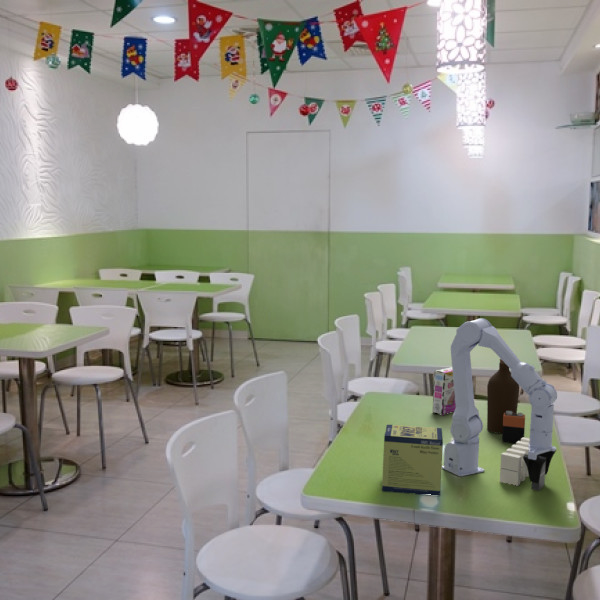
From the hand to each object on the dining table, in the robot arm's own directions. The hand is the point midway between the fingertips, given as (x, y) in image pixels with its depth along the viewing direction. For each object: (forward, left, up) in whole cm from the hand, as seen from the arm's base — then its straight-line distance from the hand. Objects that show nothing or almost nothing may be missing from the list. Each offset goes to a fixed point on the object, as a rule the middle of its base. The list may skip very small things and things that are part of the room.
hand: (538, 477), depth 187 cm
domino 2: (-1, +8, -3) cm, 8 cm away
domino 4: (+7, +11, -3) cm, 13 cm away
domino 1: (-5, +6, -3) cm, 8 cm away
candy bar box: (+27, +68, -3) cm, 74 cm away
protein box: (-31, +16, -3) cm, 35 cm away
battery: (+23, +31, -3) cm, 39 cm away
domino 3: (+11, +13, -3) cm, 17 cm away
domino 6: (0, 0, -3) cm, 3 cm away
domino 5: (+3, +9, -3) cm, 10 cm away
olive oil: (+29, +42, -3) cm, 52 cm away
